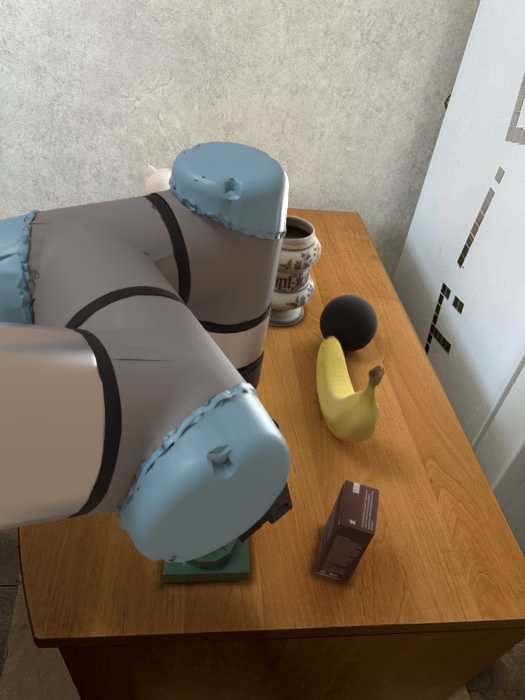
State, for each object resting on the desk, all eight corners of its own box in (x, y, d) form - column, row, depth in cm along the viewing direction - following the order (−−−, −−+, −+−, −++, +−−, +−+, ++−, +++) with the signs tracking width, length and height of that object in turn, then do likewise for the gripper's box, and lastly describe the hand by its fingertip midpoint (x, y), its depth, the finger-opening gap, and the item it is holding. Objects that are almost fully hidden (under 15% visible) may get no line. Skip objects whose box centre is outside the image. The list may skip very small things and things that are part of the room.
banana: (306, 362, 92) (328, 266, 78) (339, 363, 92) (367, 268, 79) (327, 475, 75) (360, 378, 62) (366, 475, 76) (408, 379, 62)
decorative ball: (323, 319, 101) (334, 276, 94) (374, 336, 99) (389, 293, 92) (308, 351, 94) (318, 307, 87) (362, 370, 92) (377, 327, 85)
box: (350, 583, 64) (376, 535, 56) (314, 573, 65) (334, 523, 56) (356, 539, 68) (380, 488, 60) (322, 529, 69) (342, 477, 61)
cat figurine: (187, 223, 121) (188, 159, 111) (183, 253, 112) (184, 187, 102) (147, 220, 120) (144, 156, 110) (140, 250, 111) (136, 183, 101)
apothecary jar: (262, 283, 107) (273, 202, 95) (317, 304, 104) (336, 222, 92) (235, 316, 99) (243, 231, 86) (294, 339, 96) (311, 254, 84)
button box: (163, 582, 62) (162, 567, 59) (167, 519, 68) (166, 503, 65) (248, 580, 63) (251, 565, 60) (244, 518, 69) (247, 502, 66)
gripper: (366, 414, 39) (314, 550, 53) (166, 256, 51) (167, 402, 65) (296, 468, 35) (260, 599, 49) (96, 282, 47) (114, 432, 61)
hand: (207, 487), depth 57 cm, fingers open, 13 cm apart
